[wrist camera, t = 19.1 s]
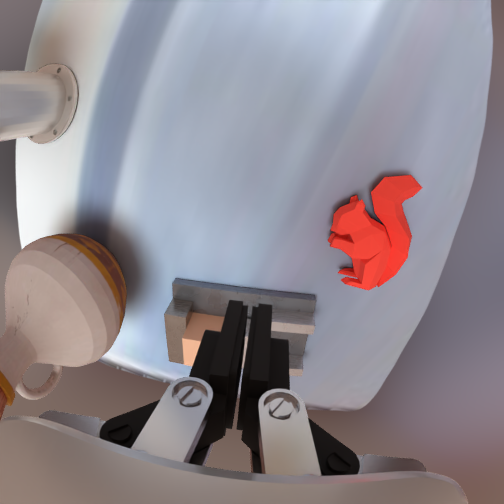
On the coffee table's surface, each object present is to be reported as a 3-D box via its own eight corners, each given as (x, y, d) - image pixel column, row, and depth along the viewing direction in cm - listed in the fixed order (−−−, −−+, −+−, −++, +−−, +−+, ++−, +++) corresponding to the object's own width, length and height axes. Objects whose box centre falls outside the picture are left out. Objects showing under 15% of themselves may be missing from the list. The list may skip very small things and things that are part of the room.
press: (179, 349, 48) (170, 372, 43) (175, 278, 42) (162, 298, 37) (298, 365, 47) (299, 389, 42) (315, 295, 42) (319, 317, 37)
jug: (147, 334, 48) (69, 485, 20) (63, 304, 47) (-32, 416, 20) (152, 226, 40) (-2, 384, 12) (55, 203, 39) (-96, 297, 12)
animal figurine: (423, 179, 34) (441, 187, 29) (388, 279, 40) (399, 297, 35) (345, 152, 34) (355, 156, 29) (313, 262, 40) (318, 280, 35)
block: (193, 338, 45) (184, 364, 39) (193, 312, 43) (182, 338, 37) (225, 343, 45) (219, 370, 39) (227, 317, 43) (219, 344, 37)
